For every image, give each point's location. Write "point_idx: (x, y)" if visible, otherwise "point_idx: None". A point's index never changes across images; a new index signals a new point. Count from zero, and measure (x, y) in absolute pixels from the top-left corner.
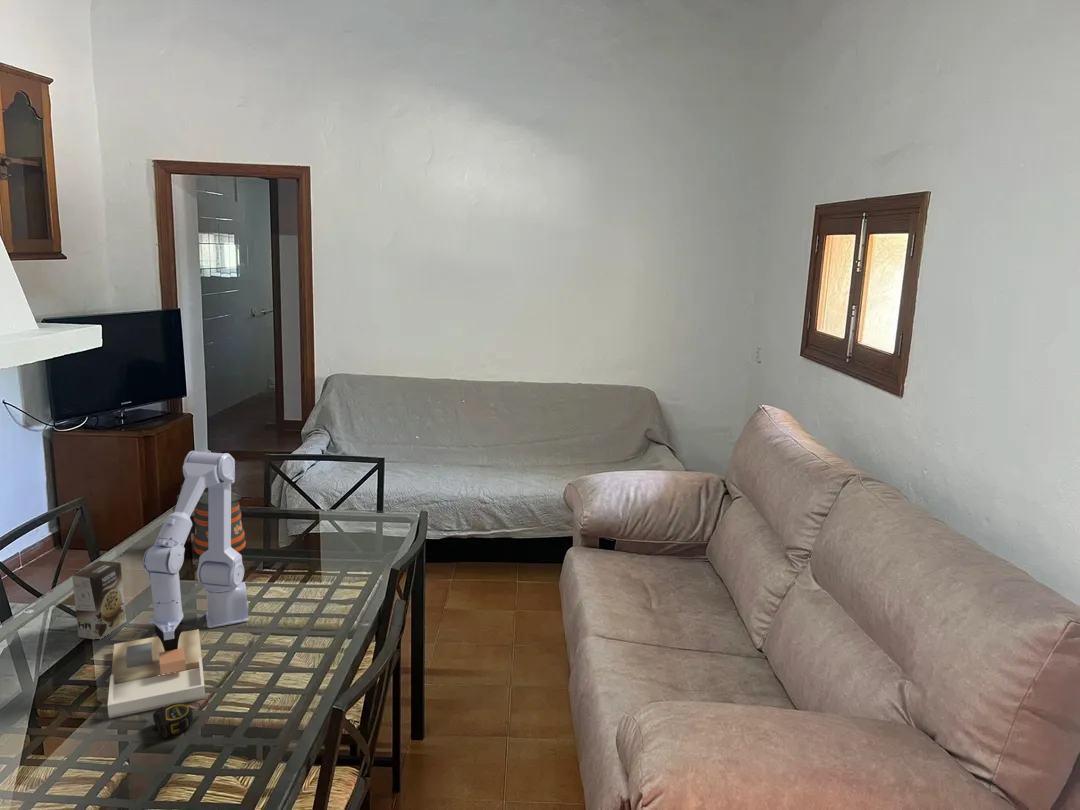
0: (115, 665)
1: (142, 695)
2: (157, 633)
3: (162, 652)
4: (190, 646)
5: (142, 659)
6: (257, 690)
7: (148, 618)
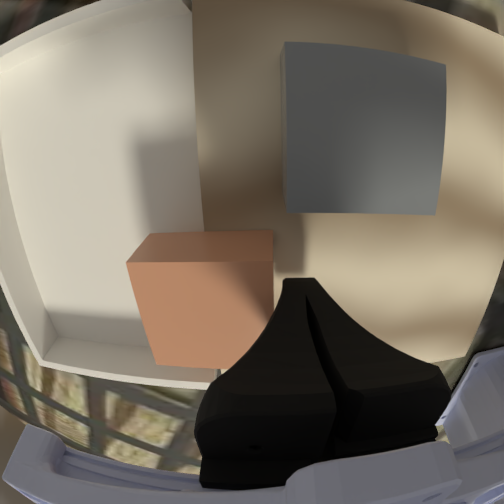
0: (335, 1)
1: (63, 155)
2: (200, 407)
3: (263, 279)
4: None
5: (284, 145)
6: (95, 417)
7: (424, 494)
